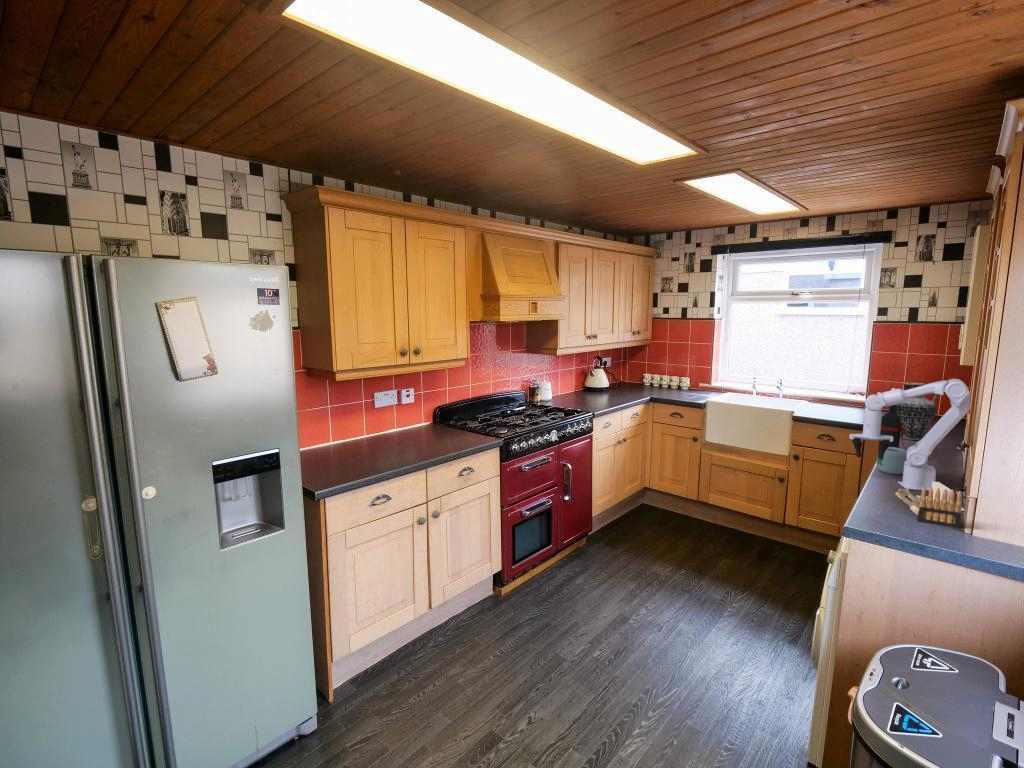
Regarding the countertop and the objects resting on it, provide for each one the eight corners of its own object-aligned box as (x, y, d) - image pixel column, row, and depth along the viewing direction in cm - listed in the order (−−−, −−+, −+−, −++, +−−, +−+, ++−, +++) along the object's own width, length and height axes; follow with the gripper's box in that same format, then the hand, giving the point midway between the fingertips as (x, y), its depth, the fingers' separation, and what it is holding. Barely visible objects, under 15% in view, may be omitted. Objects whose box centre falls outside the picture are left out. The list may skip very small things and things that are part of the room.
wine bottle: (903, 459, 236) (909, 395, 231) (876, 455, 242) (882, 393, 238) (905, 456, 241) (911, 393, 237) (879, 452, 248) (884, 391, 244)
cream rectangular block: (937, 498, 186) (938, 482, 185) (951, 508, 176) (953, 491, 176) (930, 497, 186) (932, 481, 186) (944, 507, 177) (946, 490, 176)
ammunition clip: (959, 526, 163) (963, 490, 161) (960, 528, 161) (964, 492, 160) (916, 519, 169) (920, 484, 167) (917, 521, 167) (921, 486, 165)
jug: (897, 442, 267) (903, 385, 263) (880, 433, 286) (884, 380, 282) (943, 443, 263) (949, 385, 259) (922, 435, 281) (928, 380, 277)
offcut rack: (912, 496, 190) (912, 488, 189) (939, 517, 170) (940, 508, 170) (893, 494, 191) (893, 487, 191) (917, 515, 172) (918, 506, 172)
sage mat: (948, 499, 186) (948, 497, 186) (968, 512, 174) (968, 511, 173) (915, 496, 189) (916, 495, 189) (932, 509, 177) (933, 508, 176)
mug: (866, 464, 229) (868, 443, 227) (894, 465, 227) (896, 443, 225) (884, 475, 214) (886, 452, 213) (913, 476, 212) (916, 453, 211)
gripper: (854, 425, 204) (852, 458, 205) (897, 427, 199) (894, 461, 201) (848, 422, 210) (846, 454, 212) (890, 423, 206) (887, 456, 208)
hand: (869, 457), depth 207 cm, fingers open, 7 cm apart
